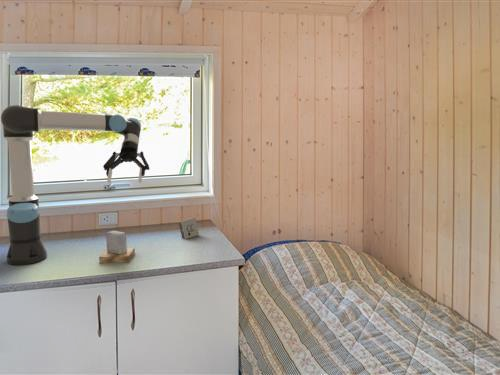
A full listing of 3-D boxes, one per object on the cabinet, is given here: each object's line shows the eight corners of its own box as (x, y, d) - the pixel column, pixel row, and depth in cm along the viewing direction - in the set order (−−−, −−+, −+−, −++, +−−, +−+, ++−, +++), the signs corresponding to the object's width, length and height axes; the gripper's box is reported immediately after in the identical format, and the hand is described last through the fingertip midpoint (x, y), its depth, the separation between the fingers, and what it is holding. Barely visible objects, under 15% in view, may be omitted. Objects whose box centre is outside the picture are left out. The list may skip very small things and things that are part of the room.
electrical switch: (185, 239, 206) (184, 221, 205) (178, 238, 209) (177, 220, 208) (199, 235, 213) (197, 217, 212) (192, 235, 216) (190, 217, 216)
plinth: (99, 262, 172) (99, 257, 172) (107, 253, 184) (106, 248, 184) (128, 262, 173) (128, 256, 173) (134, 253, 185) (134, 247, 184)
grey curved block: (127, 252, 178) (126, 232, 177) (119, 255, 174) (117, 235, 173) (115, 249, 182) (114, 230, 181) (106, 252, 178) (105, 232, 177)
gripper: (157, 150, 201) (154, 185, 188) (104, 151, 199) (97, 186, 186) (155, 139, 195) (151, 175, 182) (101, 140, 193) (93, 176, 180)
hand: (124, 181), depth 184 cm, fingers open, 13 cm apart
